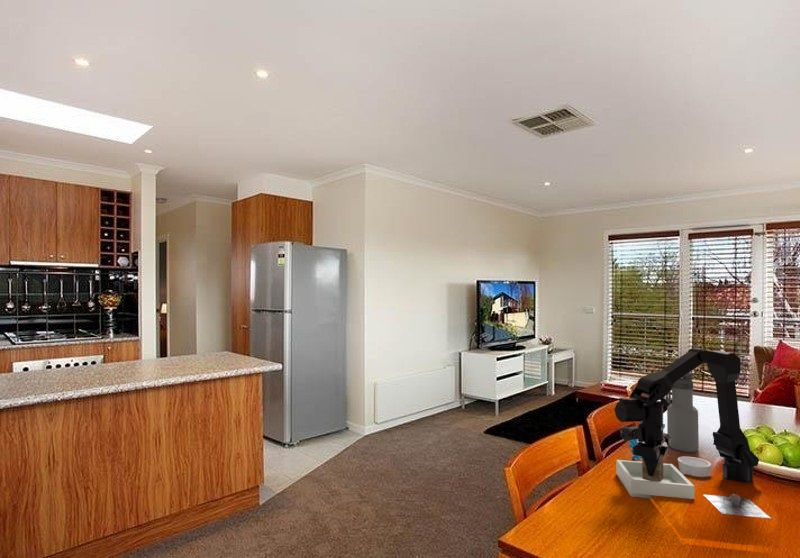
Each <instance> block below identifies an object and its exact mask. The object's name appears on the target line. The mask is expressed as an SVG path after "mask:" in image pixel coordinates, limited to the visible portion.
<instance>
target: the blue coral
mask: <svg viewBox="0 0 800 558" xmlns="http://www.w3.org/2000/svg"><path fill="white" fill-rule="evenodd" d="M628 442H629V443H628V448H631V450H630V453H631V454H632V456H631V457H630V458H631V459H632V461H635V459H636V461H640V460H641V459H642V457H641V456H637V455H634V454H633V447H634V446H635V445H636V444H637V443H639V442H640V441H638V439H634V440H628ZM641 443H643V442H641Z"/></svg>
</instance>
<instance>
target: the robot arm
mask: <svg viewBox="0 0 800 558" xmlns="http://www.w3.org/2000/svg"><path fill="white" fill-rule="evenodd" d="M702 364H706V366H707V370H708V372H709V373H710V374H711V376H712V378H713V379H714V382H715V388H716V398H717V407H718V417H719V427H718V429H717V431H713V432H712V438H713V443H712V444H713V445H714V446H715V449H716V450H717V451H718V454H719V457H721V458H723V459H724V463H722V475H721V477H722V478H725V479H726V480H729V481H734V482H738V483H745V484H746V483H748V484H749V483H750V482H751V483H753V482H754V474H753V473H754V472H753V471H754V467H758V466H759V465H758V464H759V462H760V458H759V457H758V456H757V455H756V454H755V453H754V452H753V451H752V450H751V448H750V447H751V446H750V444H749V440H748V438H747V436H746V435H745V433H744V432H743V430H742V428H741V422H740V413H739V412H740V411H739V405H738V404H739V403H738V395H737V387H736V381H737V379H738V377H740V374H741V365H742V363H741V358H740V356H738V355H737V354H735V353H733V352H726V351H719V350H712V351H710V350H707V349H705V348H699V347H692V348H690V349H688V351H687V352H686V353H684V354H683V355H681V356H679V357H678V358H676V360H674V361H672V362H671V363H670V364H669V365H667V366H665V367H664V368H663V369H661V370H659V371H656V372H655V371H654V372H651V373H648V374H646V375H644V376H642V377H640V378H639V379H638V380H637V384H636V386H634V389H633V390H632V392H631V393H630V394H629V397H626V398H625V397H619V398H618V400H619V401H618V402H616V404H615V407H614V415H615V417H616V419H617V420H618V421H619V422H620V423H631V422H633V423H634V422H636V423H637V422H639V423H638V425H635V426H626V427H622V428H621V429H620V431H619V433H620V434H619V437H620V438H622V440H623V442H629V440H634V439H638V440H637V442H638V441H640V442H638V443H637V444H636V445H635V446H634V447H633V448H632V449H633V454H632V455H633V456H634V455H637V456H641V457H642V458H643V460H644V462H645V466H646V469H647V472H648V475H649V476H653V475H654V472H655V470H656V468H657V465H658V463H659V460H660V458H661V455H659V454H662V455H663V459H664V458H665V455H666V453H667V451H668V450H669V446H668V445H670V444H671V437H670V436H669V435H668V434H667V433H665V432H664V429H665V428H666V423H664V407H668V406H670V403H668V402H667V401H666V395H667V394H668V393H669V392H672V386H673V384H674V383H675V382H677V381H678V380H680V379H681V378H682V377H684V376H685V375H687V374H688V373H689V372H691V373H692V371H694V370H695V369H697V368H698V367H699V366H701V365H702ZM641 442H642V443H641ZM664 444H666V446H664ZM642 458H641V459H642Z"/></svg>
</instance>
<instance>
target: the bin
mask: <svg viewBox="0 0 800 558" xmlns="http://www.w3.org/2000/svg"><path fill="white" fill-rule="evenodd" d="M616 475H617V477H618V479H619V480H620V482H621V484H622V485H623V486H624V488H625V490H627V492H628V494H629V496H630V497H631V498H639V499H640V498H643V499H652V500H654V498H653V496H654V497H655V496H657V497H669V498H679V499H680V498H681V499H688V500H689V499H690V500H695V485H694V484H693V483H692V482H691V481H690V480H689V479H688V478H687V477H686V476H685V474H682V473H681V472H680V471H679V468H677V467H676V466H675V465H674V464H673V463H664V462H663V480H662V481H661V482H658V481H649V480H645V479H643V476H642V461H640V460H624V459H623V460H622V459H616Z"/></svg>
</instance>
